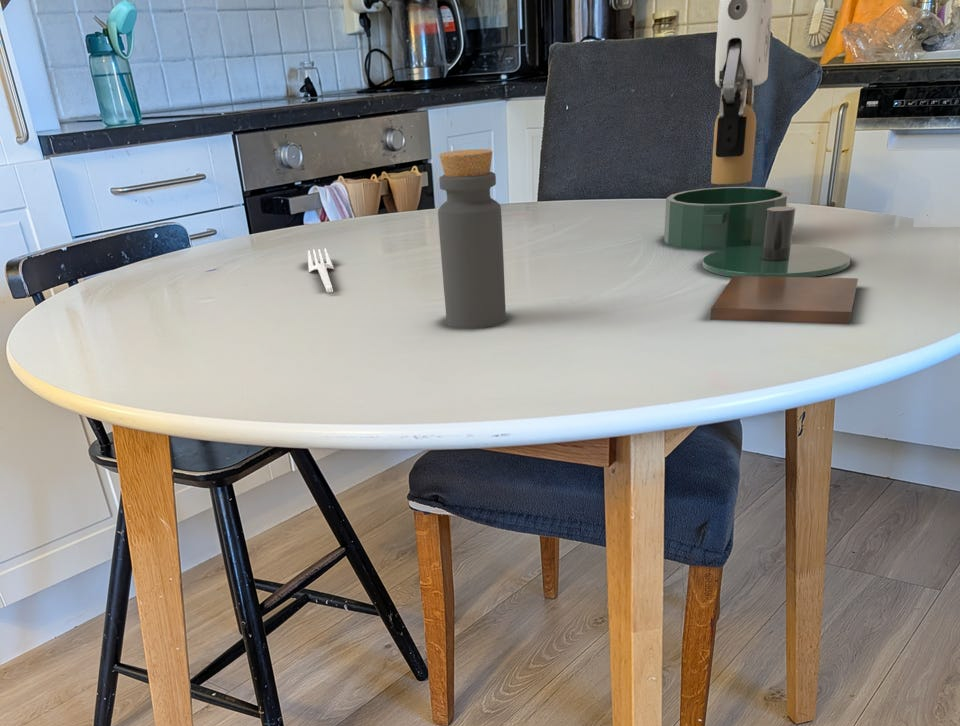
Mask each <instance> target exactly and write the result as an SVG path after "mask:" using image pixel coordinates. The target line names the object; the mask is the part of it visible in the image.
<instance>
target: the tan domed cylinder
mask: <svg viewBox="0 0 960 726" xmlns="http://www.w3.org/2000/svg"><path fill="white" fill-rule="evenodd" d="M746 116H747V121H746V133H745V145H744V153H743V155H742V156H734V157H717V156H716V141H717V126H718V118H719V113H718V114H717V116H716V118H715V122H714V127H713V128H714V129H713V130H714V132H713V146H712V158H711V159H712V161H711V177H710V183H711V184H713V185H739V184H747V183H750V182H752V177H753V166H754V154H755V144H756V143H755V141H756V132H757V117H756V113H755V110H754V108H753V109H752V108H751V107H750V106H749V105H747V104H745V113H744V117H746Z"/></svg>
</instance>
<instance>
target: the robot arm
mask: <svg viewBox="0 0 960 726" xmlns="http://www.w3.org/2000/svg"><path fill="white" fill-rule="evenodd" d="M772 14H773V0H719V3H718V16H717V29H716V43H715V48H716V49H715V61H714V62H715V63H714V83H715V85H716V86H717V87H719V88H720V89H721V91H720V101H719V110H718V114H719V118H718V126H717V141H716V156H717V157H734V156H742V155H743V153H744V145H745V133H746V121H747V116H746V117H744V113H745V104H747V105H749V106H750V107H751V108H752V109H753V110H754V97H755V95H754V93H755V86H760V85H762V84H763V83H765V82H766V81H767V80H768V76H769V62H770V46H771V30H772Z"/></svg>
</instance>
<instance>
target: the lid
mask: <svg viewBox="0 0 960 726" xmlns="http://www.w3.org/2000/svg"><path fill="white" fill-rule="evenodd" d="M795 217H796V208H795V207H793V206H788V207H771V208H768V209H767V210H766V218H765V227H764V237H763V245H755V246H744V247H737V248H730V249H725V250H716V251H714V252H711V253H709V254H707V255H706V256H704V257H703V259H702V267H703V269H704V270H706V271H707V272H710V273H712V274H714V275H718V276H724V277H729V278H732V277H733V276H756V277H813V278H819V277H824V276H827V275H828V276H829V275H832V274H833V275H834V274H836V273H839V272H842V271H844V270H846V269H847V268H849V266H850V263H851V257H850V255H848V253H846V252H843V251H842V250H838V249H833V248H829V247H825V246H817V245H816V246H815V245H803V244H792V240H793V231H794V224H795Z"/></svg>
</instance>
